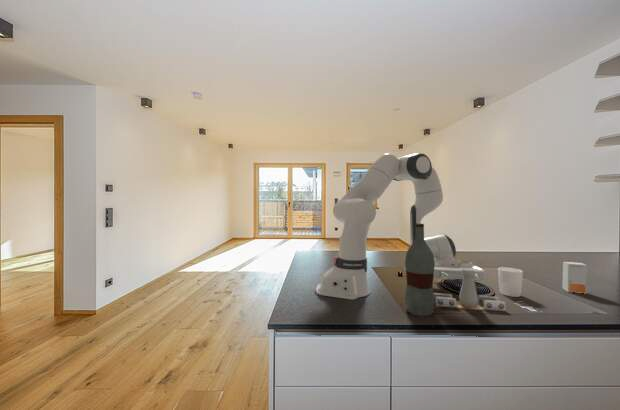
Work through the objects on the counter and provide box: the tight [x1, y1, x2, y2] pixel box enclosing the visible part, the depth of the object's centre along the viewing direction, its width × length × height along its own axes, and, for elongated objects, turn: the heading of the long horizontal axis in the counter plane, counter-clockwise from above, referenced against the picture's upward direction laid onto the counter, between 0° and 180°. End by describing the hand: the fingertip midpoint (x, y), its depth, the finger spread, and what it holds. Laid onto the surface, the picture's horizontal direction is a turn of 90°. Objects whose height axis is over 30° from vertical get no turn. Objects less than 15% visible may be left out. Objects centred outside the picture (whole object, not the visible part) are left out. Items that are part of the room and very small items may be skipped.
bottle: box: [404, 223, 436, 317], centre depth 87 cm, size 9×9×30 cm
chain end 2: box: [477, 295, 506, 312], centre depth 90 cm, size 6×5×3 cm
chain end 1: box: [433, 292, 457, 309], centre depth 93 cm, size 6×5×3 cm
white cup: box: [497, 266, 524, 298], centre depth 103 cm, size 8×8×10 cm
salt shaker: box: [458, 269, 478, 308], centre depth 91 cm, size 6×6×13 cm
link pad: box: [456, 300, 485, 311], centre depth 92 cm, size 9×6×1 cm
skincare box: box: [561, 261, 588, 295], centre depth 106 cm, size 6×4×12 cm
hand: (462, 278), depth 96 cm, fingers open, 8 cm apart
